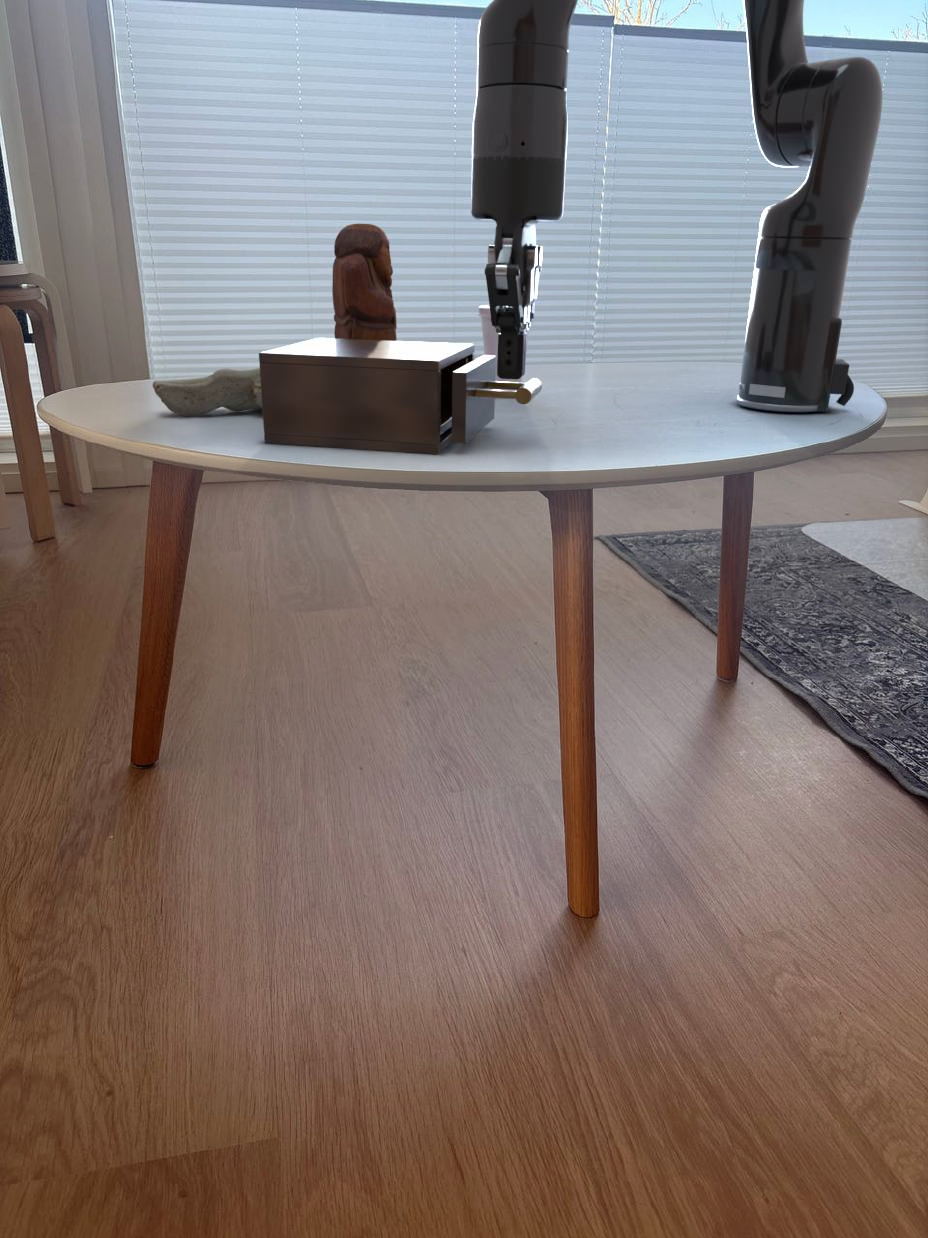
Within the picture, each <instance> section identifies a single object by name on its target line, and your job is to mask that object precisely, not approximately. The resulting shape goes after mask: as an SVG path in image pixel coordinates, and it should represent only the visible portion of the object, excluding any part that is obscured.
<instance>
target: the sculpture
mask: <svg viewBox="0 0 928 1238" xmlns="http://www.w3.org/2000/svg"><path fill="white" fill-rule="evenodd" d="M152 389H153V390H154V392H155V395H157V397H158V398H159V400H160V401H161V402H162V403H163V404H164V406H165V407H166V408H167V409H168V410H169V411H170V412H172V413H174V414H177V415H179V416H182V417H190V416H199V415H202V414H207V413H210V412H213V411H215V410H217V409H220V408H224V409H226V410H229V411H231V412H235V413H236V412H237V413H238V412H245V411H250V410H262V395H261V380H260V367H258V368H257V367H256V368H252V369H250V368H249V369H240V370H238V369H231V368H220V369H217V370H216V371H214V372H213V373H212V374H210V375H208V376H204V377H195V378H185V379H160V380H159V379H158V380H154V381H153V382H152Z"/></svg>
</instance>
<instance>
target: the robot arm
mask: <svg viewBox="0 0 928 1238" xmlns="http://www.w3.org/2000/svg"><path fill="white" fill-rule="evenodd" d="M578 1H579V0H492V1H491V2H490V3H489V4H488V5H487V7H485V9H484V10H483V12H482V13H481V16H480V19H479V23H478V31H477V63H476V65H477V67H476V69H477V70H476V94H475V95H476V97H475V104H474V112H473V120H472V144H471V145H472V146H471V157H472V158H471V190H470V191H471V194H470V195H471V197H470V206H471V207H470V214H471V216H472V218H474V219H475V220H478V221H494V222H495V224H496V226H495V231H494V240H493V244H489V245H488V247H487V263H486V265H485V267H484V275H485V281H486V289H487V298H488V305H490V313H491V322H492V326H495V328H496V333H499V334H498V358H497V375H498V377H499V378H501V379H520V378H521V377H522V376H523V377H524V375H525V374H526V357H527V351H526V336H527V333H525V332H529V328H530V329H531V325H532V324H533V320H534V319H535V307H536V301H537V299H538V288H539V282H540V276H541V273H542V264H543V246H542V245H537V229H536V226H537V224H538V223H540V222H557V221H559V220H561V219H562V217H563V216H564V203H565V188H566V187H565V186H566V169H567V150H568V149H567V147H568V132H569V131H568V130H569V129H568V128H569V126H568V125H569V121H568V119H569V118H568V105H567V88H568V70H569V69H568V68H569V49H570V46H569V45H570V30H571V25H572V21H573V17H574V14H575V11H576V7H577V5H578ZM804 5H805V0H742V8H743V15H744V23H745V32H746V33H745V34H746V42H747V58H748V70H749V82H750V95H751V97H750V98H751V106H752V107H751V108H752V117H753V124H754V129H755V130H754V131H755V135H756V139H757V143H758V146H759V149H760V151H761V154H762V155H763V156H764V158H765V159H766V161H768V163H770V165H773V166H775V167H780V168H800V167H802V168H803V167H809V169H808V171H807V175H806V178H805V180H804V182H803V183H802V184H801V185H800V187H799V188H798V189H796V191H794V192H793V193H792V194H790V195H789V196H787V197H785V198H783V199H782V200H781V201H778V202H775V203H773V204H772V205H770V206H767V207H766V208H765V209H764V210H763V212H762V213H761V217H760V220H759V221H760V222H759V229H758V231H759V232H758V238H757V244H756V252H755V253H756V254H755V262H754V270H753V278H752V286H751V293H750V300H749V308H748V318H747V325H746V333H745V341H744V349H743V355H742V365H741V372H740V381H739V385H738V394H737V397H736V404H738V405H739V406H741V407H745V408H748V409H753V410H760V411H768V412H779V413H813V412H817V413H818V412H819V413H823V412H824V413H827V412H828V410H829V405H830V400H831V399H830V398H831V395H840V396H839V397H838V398H837V400H836V403H837V404H838V405H841V406H843V407H845V406H846V405H847V404H848V402H849V401H850V400H851V398H852V397H853V396H854V391H855V384H854V382H853V380H852V378H851V377H850V375H849V370H850V364H849V363H848V362H846V361H845V360H844V359H843V358H837V356H838V350H839V344H840V337H841V330H842V324H843V319H842V318H841V317H840V314H841V308H842V302H843V296H844V289H845V285H846V277H847V271H848V265H849V258H850V253H851V246H852V238H853V235H854V234H853V233H854V229H855V225H856V221H857V219H858V217H859V214H860V212H861V209H862V207H863V204H864V200H865V196H866V193H867V192H866V191H867V185H868V180H869V177H870V171H871V166H872V162H873V157H874V153H875V149H876V144H877V139H878V134H879V130H880V125H881V124H880V123H881V118H882V111H883V83H882V78H881V77H882V76H881V75H880V72H879V70H878V68H877V66H876V64H875V63H874V62H873V61H872V60H870V59H869V58H866V57H863V56H850V57H841V58H835V59H833V58H832V59H827V60H821V61H813V62H809V59H808V56H807V51H806V45H805V35H804V34H805V33H804ZM529 333H530V332H529ZM523 377H522V378H523Z"/></svg>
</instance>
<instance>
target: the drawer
mask: <svg viewBox="0 0 928 1238" xmlns="http://www.w3.org/2000/svg"><path fill="white" fill-rule="evenodd" d="M440 371H441V384H440V435H441V434H442V433H444V432H445V431H446V430H448V429H449V428H450V427H452V443H451V444H461V445H462V444H463V445H465V444H466V443H468V442H469V441H470V440H471V439H473V437H475V436H476V435H477V434H478V433H480V432H481V431H482V430H483V429H484V428H485V427H487V425H489V424H490V423H491V422H492V421H493V420H494V419H495V408H496V407H495V406H496V405H495V404H496V399H509V400H511V399H512V400H515V401H516V402H517V403H518V404H519V405H527V404H529V403H531V401H532V400H533V399H534V398H535V397H536V396H537V395H538V394H540V393H541V391H542V389H543V384H542V381H541V380H540V379H538V378H537V377H536V378H535V377H533V378H530V379H529V380H528V381H526V382H522V383H520V382H500V381H495V375H496V356H491V355H484V354H483V355H482V356H480V357H477V358H476V359H474V361H472V362H470V363H468V358H463V359H461V360H459V361H457V362H455V363H453V364H451V365H449V366H447V367H445V368H443V369H441V370H440ZM495 389H509V390H517V391H509V390H495Z"/></svg>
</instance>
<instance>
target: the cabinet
mask: <svg viewBox="0 0 928 1238" xmlns="http://www.w3.org/2000/svg"><path fill="white" fill-rule="evenodd" d="M463 358H468V363H470V362H472V361H474V360H475V344H474V343H455V342H432V341H410V340H409V341H407V340H406V341H405V340H397V341H385V340H361V339H336V338H335V337H315V338H311V339H308V340H304V341H300V342H296V343H292V344H288V345H284V346H281V347H277V348H273V349H268V350H264V351H261V352H260V351H259V352H258V363H259V368H260V380H261V395H262V409H261V410H262V423H263V425H262V426H263V433H264V434H263V437H264V438H263V439H264V440H263V441H264V444H276V445H289V446H304V447H305V446H307V447H322V448H337V449H353V450H365V451H367V450H368V451H381V452H396V453H397V452H399V453H411V454H428V455H439V454H440V453H441V452H442V451H443V450H445V449H446V448H447V447H448V446H450V445H451V444H453V443H452V427H450V428H449V429H448V430H446V431H445V432H444V433H442V434H441V435H440V384H441V371H440V370H441V369H443V368H445V367H447V366H449V365H451V364H453V363H455V362H457V361H459V360H461V359H463Z"/></svg>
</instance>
